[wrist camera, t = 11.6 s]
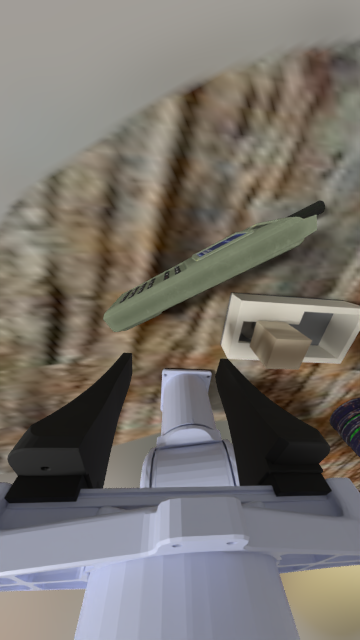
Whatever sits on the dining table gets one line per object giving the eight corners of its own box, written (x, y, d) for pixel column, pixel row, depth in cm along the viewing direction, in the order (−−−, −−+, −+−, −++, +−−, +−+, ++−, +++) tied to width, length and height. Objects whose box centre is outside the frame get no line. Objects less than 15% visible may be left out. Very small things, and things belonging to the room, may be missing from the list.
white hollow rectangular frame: (342, 300, 23) (372, 309, 19) (318, 348, 26) (340, 363, 23) (231, 292, 22) (241, 300, 18) (220, 343, 25) (227, 358, 22)
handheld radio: (117, 292, 22) (309, 191, 18) (131, 312, 23) (313, 223, 19) (97, 312, 16) (380, 166, 12) (117, 338, 17) (378, 214, 13)
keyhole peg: (263, 335, 24) (300, 372, 17) (234, 334, 24) (260, 371, 17) (272, 307, 22) (318, 336, 15) (241, 305, 22) (273, 334, 15)
